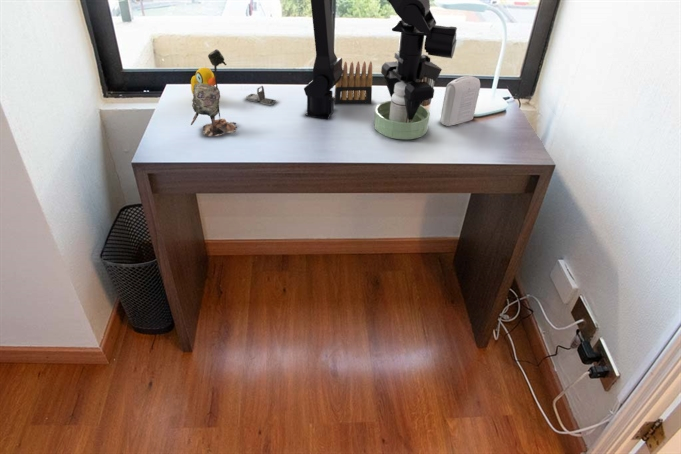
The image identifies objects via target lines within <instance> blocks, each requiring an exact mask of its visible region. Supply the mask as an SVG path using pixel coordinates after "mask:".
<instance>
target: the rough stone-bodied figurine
mask: <svg viewBox="0 0 681 454" xmlns="http://www.w3.org/2000/svg"><path fill="white" fill-rule="evenodd" d="M207 57H208V60H209V62H210V64H211V65H212V66H213V69H214V77H215V83H216V85H214V86H212V85H207V84H203V83H198V84H195V85H194V87H193V94H192V99H191V102H192V104H191V106H192V110H193V111H194V113H195V114H194V116H193V118H192V120H191V122H190V126H193V125H194V123H195V121H197V119H198V116H199V115H203V116H208V117H209V118H210V120H211V123H205V124H203V125H202V133H203V136H204V137H217V136H222V135H223V134H228V133H232V134H235V133H236V132H237V131H236V130H237V128H238V126H237V122H234V121H233V122H231V121H230V122H228V121H227V120H226V119H225V118H221V113H220V112H221V111H220V99H221V91H220V89H219V87H218V78H217V77H218V76H217V74H218V73H217V71H218V69H217V67H218V66H220V65H222V64H223V65H224V66H227V63H226V61H225V57H224V55H223V54H222V53H221V51H220V50H219V49H214V50H213V51H211V52H210V53H208V55H207ZM217 115H218V117H219V119H216V116H217Z"/></svg>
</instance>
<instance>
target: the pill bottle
mask: <svg viewBox="0 0 681 454" xmlns="http://www.w3.org/2000/svg"><path fill="white" fill-rule="evenodd" d="M406 86H407V85H406V84H405V83H404V82H398V83H396V84H395V87H394V94H393V95H392V97H391V96H390V101H391V106H390V115H389V120H392V121H395V122H402V123H412V121H413V119H412V120H409V119H408V116H407V112H406V106H405V101H404V95H405V87H406Z"/></svg>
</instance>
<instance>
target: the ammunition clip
mask: <svg viewBox="0 0 681 454" xmlns="http://www.w3.org/2000/svg"><path fill="white" fill-rule="evenodd" d="M369 61H370V60H369ZM342 69H343V71H344V73H343V74H342V75H341V79H340V80H339V81H338V82H337V83H336V84H335V85H334V96H333V97H334V105H368V104H369V105H370V104H372V98H373V97H372V93H373V63H372V61H370V62H369V63H368V67H367V64H366V61H363V63H362V65H360V61H357V63H356V66H355V65H354V62H353V61H351V62H350V64H349V71H348V63H347V61H344V64H343V66H342ZM348 72H349V73H348Z"/></svg>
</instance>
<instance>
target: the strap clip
mask: <svg viewBox="0 0 681 454" xmlns="http://www.w3.org/2000/svg"><path fill="white" fill-rule="evenodd" d="M260 89H261V90H260ZM246 100H248V101H249V102H254V103H257V102H260V104H263V105H266V106H273V105H274V104H275V103H276V102H277V100H276V99H271V98H268V97H267V98H266V94H265V88H264V86H263V85H260V86H259V87H257V88H256V93H250V94H248V95H247V96H246Z"/></svg>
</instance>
